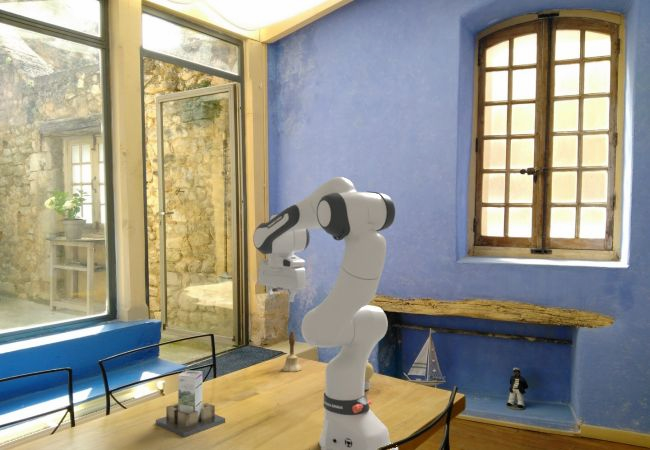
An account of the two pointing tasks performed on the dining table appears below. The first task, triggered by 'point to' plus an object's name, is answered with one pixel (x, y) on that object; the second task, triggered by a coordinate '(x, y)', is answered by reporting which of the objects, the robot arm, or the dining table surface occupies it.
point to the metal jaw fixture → (189, 420)
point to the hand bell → (291, 357)
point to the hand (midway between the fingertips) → (280, 300)
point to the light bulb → (368, 375)
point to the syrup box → (190, 392)
